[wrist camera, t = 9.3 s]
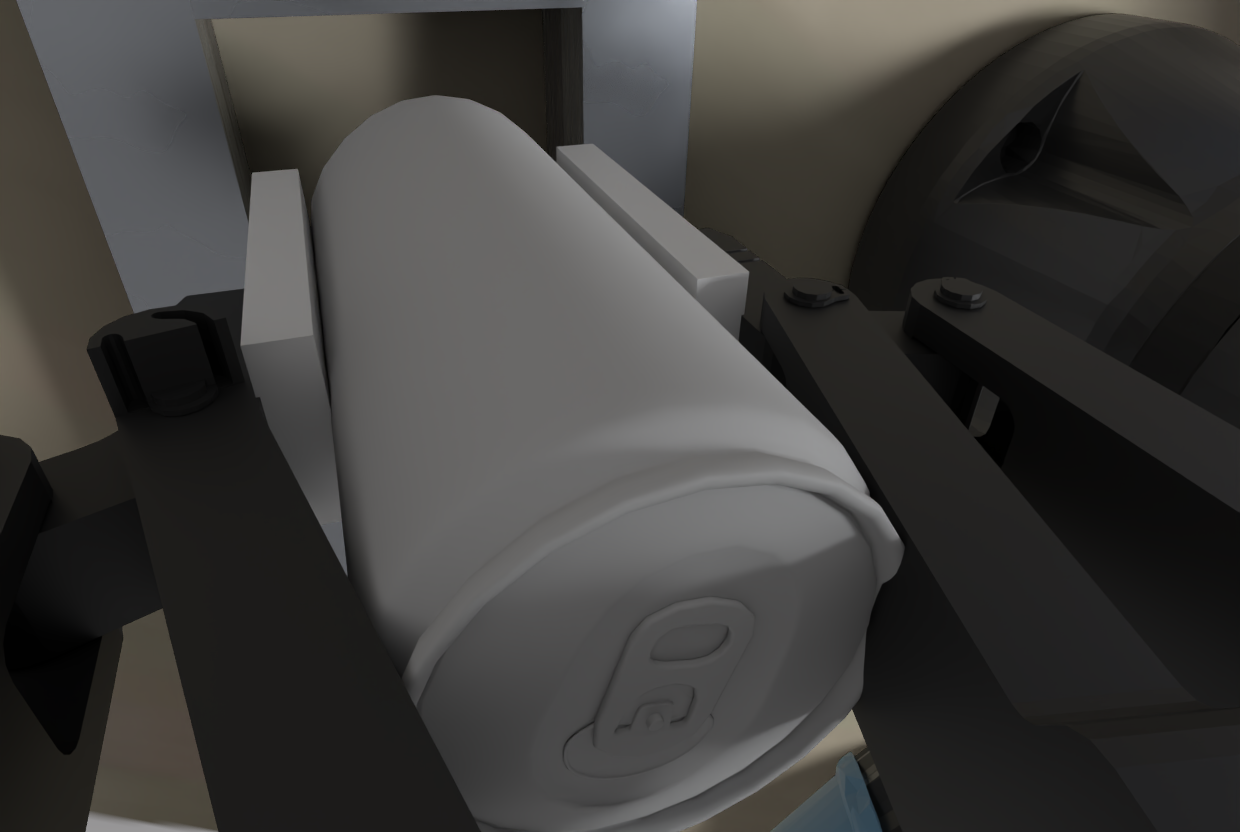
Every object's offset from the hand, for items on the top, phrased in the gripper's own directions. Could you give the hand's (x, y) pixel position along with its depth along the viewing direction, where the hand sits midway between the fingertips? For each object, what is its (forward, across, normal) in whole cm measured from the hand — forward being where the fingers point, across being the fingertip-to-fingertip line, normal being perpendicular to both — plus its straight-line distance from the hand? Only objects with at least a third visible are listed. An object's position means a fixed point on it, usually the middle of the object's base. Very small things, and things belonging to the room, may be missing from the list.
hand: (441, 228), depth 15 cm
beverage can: (+1, 0, 0) cm, 1 cm away
